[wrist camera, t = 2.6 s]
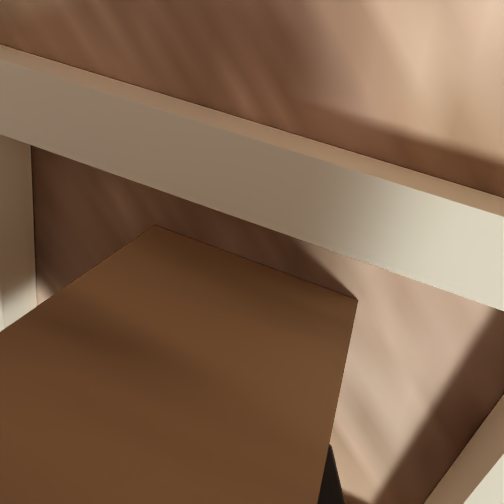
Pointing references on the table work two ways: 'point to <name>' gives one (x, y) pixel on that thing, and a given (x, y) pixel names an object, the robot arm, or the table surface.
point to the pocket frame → (253, 201)
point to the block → (172, 382)
